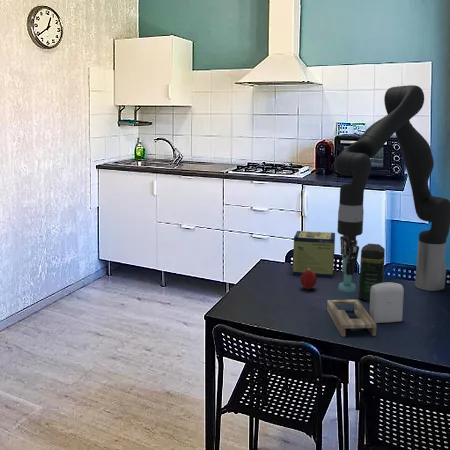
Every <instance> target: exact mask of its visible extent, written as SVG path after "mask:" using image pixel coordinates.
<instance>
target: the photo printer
mask: <svg viewBox="0 0 450 450" xmlns="http://www.w3.org/2000/svg"><path fill="white" fill-rule="evenodd" d="M404 291H405V289H404V286H403V285H402V284H400V283H397V282H391V281H390V282H388V281H387V282H383V283H379V284H376V285H373V286H371V289H370V301H369V312H368V314H369V315H370V316H371V318H372V319H373V320H374V322H375V323H376V324H380V323H396V322H402V321H403V311H404V309H403V308H404V294H405V292H404Z"/></svg>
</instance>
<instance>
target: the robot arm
mask: <svg viewBox="0 0 450 450" xmlns="http://www.w3.org/2000/svg"><path fill="white" fill-rule="evenodd" d="M383 102H384V107H385V111H386V113H387V115H385V116H384V117H382V118H380V119H378V120H377V121H375V122H374V123H373V124H371V125H370V126H369V127H368V128H367V129H366V130H365V131H364V132H363V133H362V135H361V136H360V137H359V139H358V140H356V141H354V142H353V143H351V144H350V145H349V146H348V147H345V148H344V149H343V150H342V151H341V152H339V154H338V155H337V157H336V159H335V163H334V166H335V170H336V172H337V174H340V175H341V176H348V177H352V179H351V182H350V183H344V184H342V185H341V186H340V188H339V203H338V211H337V231H336V232H337V234H339V235H340V237H339V239H340V255H341V258H342V259H343V258H344V257H346V274H347V275H352V276H353V275H354V272H355V263H357V262H358V256H359V252H360V246H358V240H357V236H361V235H362V234H363V229H364V211H365V210H364V199H365V198H364V194H365V189H366V185H367V183H368V178H369V176H370V173H371V170H372V162H371V161H372V160H371V159H372V158H374V157H375V156H376V155H377V154H378V153H379V152H380V151H381V149H382V148H383V147H384V145H385V144H386V143H387V142H388V141H389V139H391V138H392V136H394V134H395V135H396V140H397V142H398V144H399V149H400V152H401V156H402V159H403V164H404V167H405V169H406V173H407V177H408V181H409V184H410V187H411V188H410V189H411V192H412V198H413V205H414V210H415V213H416V214H415V215H417V217H418V219H420V220H421V221H423V222H428V223H431V224H430V229H429V230H427V229H426V230H422V231H420V232H419V234H418V242H417V243H418V246H417V255H416V256H417V257H416V270H415V282H414V283H415V284H414V286H415V288H417V289H420V290H423V291H427V292H429V291H430V292H435V291H441V290H445V286H446V275H447V274H446V273H447V263H446V262H445V260H446V259H445V258H446V256H445V255H446V248H447V247H446V246H447V239H448V235H449V232H450V200H449V199H448V198H445V197H440V196H435V195H432V193H431V191H430V187H429V179H430V177H431V175H432V172H433V169H434V165H435V162H434V160H435V159H434V157H433V154H432V153H433V152H432V150H431V146H430V144H429V142H428V141H427V140H426V138H424V136H423V135H422V134H421V133H420V132H419V131H418V130H417V129H416V128H415V127H414V125H413V124H412V123H411V121H410V120H412V118H413V117H415V116H416V115H418V113H420V112H421V110H422V108H423V106H424V104H425V94H424V91H423V89H422V88H421V87H420V86H418V85H414V84H411V85H410V84H408V85H401V86H400V85H398V86H392V87H390V88H388V89H387V90H386V91H385V94H384V101H383ZM351 258H353V259H351Z"/></svg>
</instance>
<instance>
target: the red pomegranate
mask: <svg viewBox="0 0 450 450" xmlns="http://www.w3.org/2000/svg"><path fill="white" fill-rule="evenodd" d="M299 279H300V284H301V285H302V287H304V289H306V290H310V289H312V288H314V286H315V285H316V284H317V281H318V277H316V275H315V274H314V273H313V272H312V271H311V270H310V268H307V271H305V272H304V273H303V274H302V275H301V276H300V278H299Z"/></svg>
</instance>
